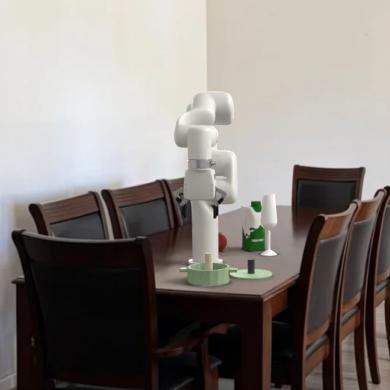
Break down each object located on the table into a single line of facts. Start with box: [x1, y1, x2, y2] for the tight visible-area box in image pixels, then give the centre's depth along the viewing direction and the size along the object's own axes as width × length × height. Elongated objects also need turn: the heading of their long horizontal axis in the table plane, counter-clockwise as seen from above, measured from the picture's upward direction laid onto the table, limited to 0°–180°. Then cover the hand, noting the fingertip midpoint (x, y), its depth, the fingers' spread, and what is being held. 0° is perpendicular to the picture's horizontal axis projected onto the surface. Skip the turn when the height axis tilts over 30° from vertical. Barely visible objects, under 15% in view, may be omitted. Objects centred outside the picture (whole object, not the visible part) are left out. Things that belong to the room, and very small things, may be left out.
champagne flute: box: [260, 192, 278, 257], centre depth 309 cm, size 7×7×24 cm
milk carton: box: [240, 200, 266, 252], centre depth 319 cm, size 9×9×20 cm
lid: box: [230, 257, 273, 281], centre depth 268 cm, size 14×14×6 cm
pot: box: [179, 262, 239, 287], centre depth 258 cm, size 13×19×6 cm
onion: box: [218, 231, 228, 252], centre depth 315 cm, size 6×6×8 cm
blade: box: [205, 252, 213, 270], centre depth 258 cm, size 8×5×10 cm, turn 0°
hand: (200, 218), depth 252 cm, fingers open, 9 cm apart
